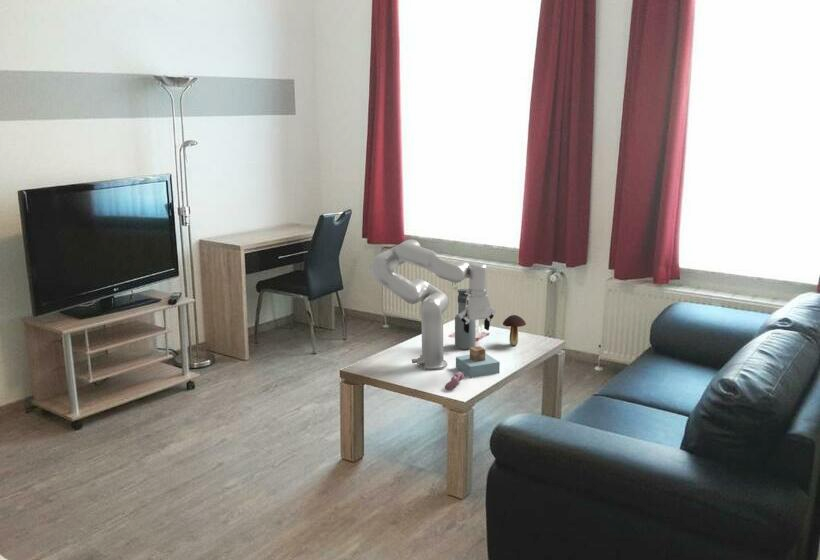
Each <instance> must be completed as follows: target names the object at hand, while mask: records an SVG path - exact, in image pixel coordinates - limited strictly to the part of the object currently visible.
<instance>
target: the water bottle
mask: <svg viewBox="0 0 820 560" xmlns="http://www.w3.org/2000/svg"><path fill="white" fill-rule="evenodd" d="M468 289H469V288H458V289H457V293H458V295H457V304H458V305H457V311H458V312H457V313H458V314H459V313H461V312H462V311H464V310H465V306H466V300H467V296H468V295H469V294H466V291H468ZM458 314H456V315H455V316H454V346H455V348H457V349H459V350H470V347H476V320H470V321H469V323H468V324H469V333H466V332H465V331H464V323H463V322H462V321H461V320H460V317H459V315H458ZM463 318H464V319H465V315H463Z"/></svg>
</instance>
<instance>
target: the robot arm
mask: <svg viewBox="0 0 820 560" xmlns="http://www.w3.org/2000/svg"><path fill="white" fill-rule="evenodd" d="M436 253H437V252H435V251H434V250H432V249H429V248H425V247H422V246H421V243H419V241H417V240H416V239H412V238H411V239H407V240H405V241H403V242H401V243H400V244H398V245H395V246H394V247H391V248H389V249H387V250H384V251H383V252H381V253H379V254H377V255H376V256H374V258H373V259H372V261H371V264H370V269H371V274H372V277H373V278H374V280H375V281H376V282H377V283H378V284H379V285H381V286H382V287H384V288H385V289H387V290H388V291H390V292H391V293H393V294H394V295H396V296H397V297H399V298H401V300H403V301H405V303H407V304H410V305H415V304H417V303H419V302H421V304H420V306H419V315H420V322H421V324H420V325H421V354H420V355H419V357H418V358H411V364H417V365H418V367H419V368H422V369H424V370H428V369H429V370H431V371H436V370H441V369H444V368H446V367H447V366H448V362H447V361H446V360H445V359H444V322H443V317H442V315H443V313H444V312H445V311H446V310H447V309H448V308H449V304H450V301H449V300H450V299H449V297H448V296H447V294H445V292H443V291H442V290H440V289H439V288H437V287H436V286H433V284H431V283H429V282H428V281H427V280H424V279H421V278H416V279H412V280H409V279H407V277H404V276H403V275H402V274H400V273H399V272H395V271H394V270H393V269H395V268H396V267H398V266H401V265H402V264H404V263H407V264H410V265H413V266H416V267H419V268H421V269H424V270H427V271H429V273H431V274H433V275H434V276H435V277H437V278H440V279H441V280H445V281H448V282H451V283H460V282H463V281H464V280H466V279H468V288H467V289H468V291H466V293H465V294H469V295H468V296H467V300H466V306H465V310H464V311H462V312H461V313H459V314H457V315H459V317H460V320H461V321H462V322H463V323H464V331H465V332H466V333H469V324H468V323H469V321H470V320H475V321H477V320H484V325H483V326H484V327H483V328H484V330H486V331H490V327H491V326H490V325H491V324H490V323H491V321H492V320H493V318H494V315H495V314H496V310H495V309H493V308H491V305H490V298H489V295H488V294H487V287H488V285H487V283H488V266H487V264H485V263H481V262H479V263H478V262H477V263H475V262H470V261H466V260H460V261H457V262H456V263H454V264H452V263H450V262H447V261H445V260H443V259H440V258H439V257H438V256H437V254H436ZM463 315H465V319H464V318H463ZM429 370H428V371H429Z"/></svg>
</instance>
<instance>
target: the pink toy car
mask: <svg viewBox="0 0 820 560" xmlns="http://www.w3.org/2000/svg"><path fill="white" fill-rule="evenodd" d="M464 375H465V374H464V373H463V372H461V371H459V372H455V373H454V375H453V376H452V377H451V379H450V381H448V382H447V383H445V385H444V388H445V390H451V389H453V388H456V387H457V386H458V385H460V383H461V380H462V379H463V377H464Z"/></svg>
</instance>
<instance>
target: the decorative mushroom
mask: <svg viewBox="0 0 820 560" xmlns="http://www.w3.org/2000/svg"><path fill="white" fill-rule="evenodd" d="M502 325H503V327H510V330H509V331H510V332H509V340H508V341H509V344H510V345H511V346H513V345H514V346H517V345H518V343H519V331H518V328H519V327H520V328H521V327H524V326H526V325H527V322H526V321H525V320H524V319H523V318H522V317H521V316H519V315H515V314H511V315H509V316H508V317H507V318H505V319H504V320H503V321H502Z"/></svg>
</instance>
